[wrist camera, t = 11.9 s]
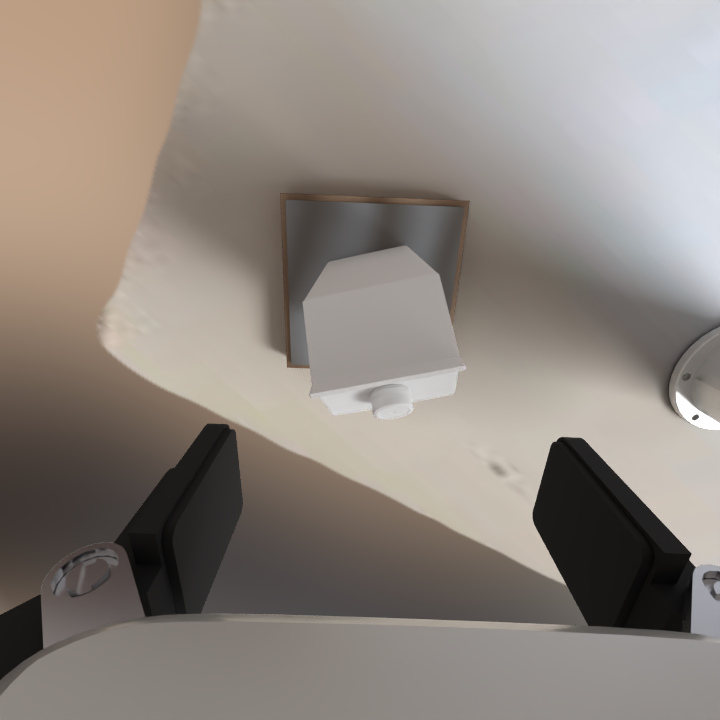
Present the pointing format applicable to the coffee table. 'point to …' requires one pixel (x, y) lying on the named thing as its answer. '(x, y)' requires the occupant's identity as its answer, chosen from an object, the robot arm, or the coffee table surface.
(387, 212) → the framed mirror
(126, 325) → the coffee table surface
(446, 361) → the milk carton
